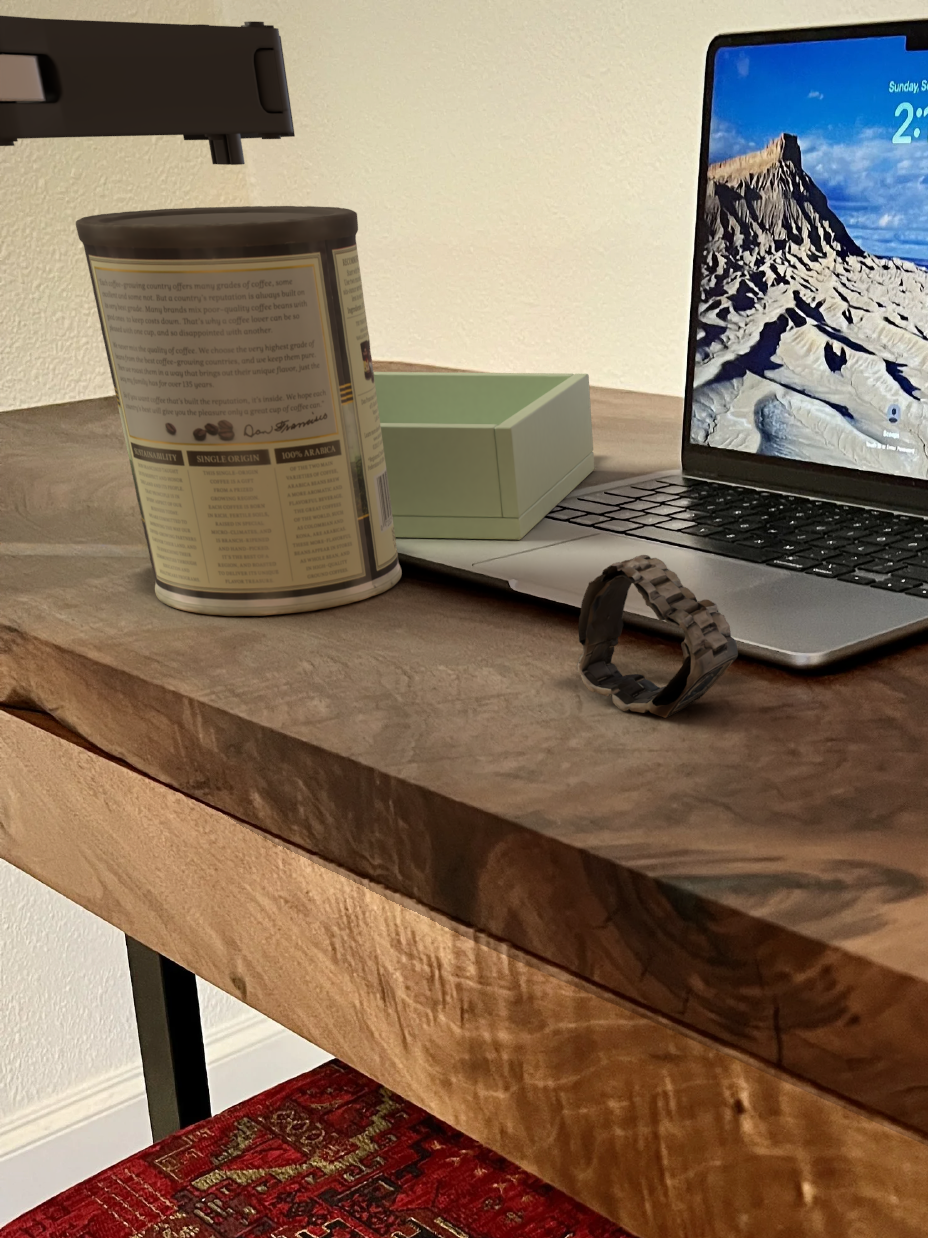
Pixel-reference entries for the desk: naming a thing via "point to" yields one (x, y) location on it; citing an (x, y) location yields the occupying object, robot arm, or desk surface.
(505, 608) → the desk surface
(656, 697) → the wristwatch
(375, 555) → the coffee can
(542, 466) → the drawer tray
